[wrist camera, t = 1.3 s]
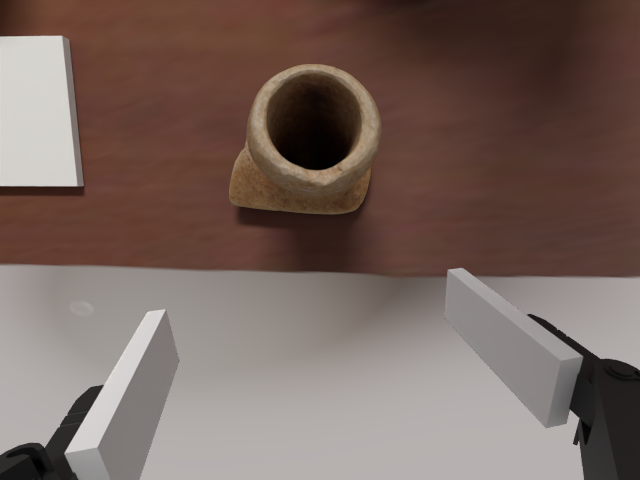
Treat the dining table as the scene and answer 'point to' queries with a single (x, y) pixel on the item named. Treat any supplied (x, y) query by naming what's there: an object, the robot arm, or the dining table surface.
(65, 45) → the mat
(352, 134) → the stone cup
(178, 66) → the dining table surface
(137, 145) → the dining table surface
